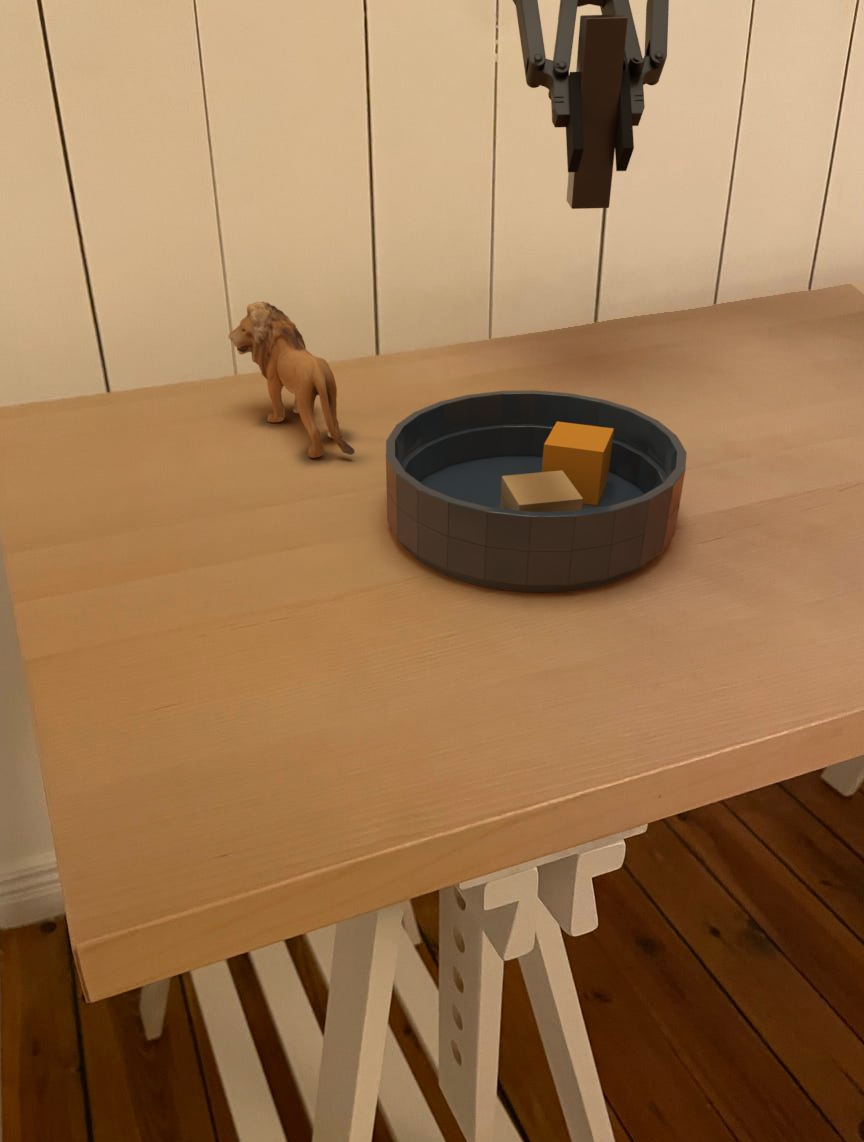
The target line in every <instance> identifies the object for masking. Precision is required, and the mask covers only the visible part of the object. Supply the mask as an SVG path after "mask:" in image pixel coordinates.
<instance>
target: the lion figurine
mask: <svg viewBox="0 0 864 1142" xmlns="http://www.w3.org/2000/svg"><path fill="white" fill-rule="evenodd" d="M239 322H240V324H239V325H238V326H237V327H236V328H234V329H233V330H232V331H230V332H229V334H228V335H227V336H228V339H229V340H230V341H231V343H232V345H233V346H234V347H235V348H236V350H237V353H238V354H239V355H245V354H247V353H250V354H251V360H252V362H253V363H255V364H257V365H258V367H259V370H260V373H261V376H262V377H264V378H265V379H266V384H267V391H268V396H269V398H270V401H271V404H272V409H273V411H272V412H270V413H268V415H267V420H266V421H267V422H269V423H272V424H273V423H280V422H281V423H282V422H283V421H284V420H285V417H286V409H285V406H284V403H283V398H282V396H283V395H282V391H283V388H285V389H286V390H287V391H288V392H289V393H290V394H293V395H294V402H293V405H292V407H293V408H292V412H293V413H294V414H298V415H299V417H300V419H301V421H302V424H303V425H304V428H305V429H306V431H307V433H308V436H309V438H310V441H311V446H310V447H308V450H307V455H308V457H310V458H319V457H321V456H323V455H324V445H323V442H322V435H321V432H320V429H319V427H318V426H317V424H316V421H315V413H314V411H315V410H314V408H315V403H316V398H317V396H319V400H320V406H321V412H322V414H323V417H324V421H325V425H326V427H327V433H326V434H327V436H328V437H329V438H331V439H333V441H334V442H335V443H336V445H337V446H338V448H339V449H340V450H341V452H342V453H343V454H347V455H353V454H355V452H356V451H355V449H354V448H353V447H352V446H351V445H350V444H349V443H347V442H346V441H345V440H344V439H342V435H343V434H342V430H341V428H340V425H339V424H340V423H339V420H338V416H337V415H338V414H337V413H338V412H337V406H338V405H337V397H338V395H337V394H338V388H337V382H336V379H335V376H334V373H333V371H332V369H331V368H330V365H329V363H328V361H326V359H325V358H323V357H318V356H315V355H313V354H312V353H311V352H309V351H308V350H307V347H306V344H305V340H304V337H303V335H302V334H301V333H300V331H299V329H298V328H297V326H296V324H295V322H293V321H292V320H291V319H290V317H289V316H288V315H287V314H286V313H284V312H283V311H282V310H281V309H278V307H276V306H275V305H273V304H270V303H269V302H265V301H255V302H253V303H249V304H248V305H247V306H246V315H245V317H243V318H242V319H241V320H240V321H239Z"/></svg>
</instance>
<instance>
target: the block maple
mask: <svg viewBox="0 0 864 1142" xmlns="http://www.w3.org/2000/svg"><path fill="white" fill-rule="evenodd" d="M582 503H583V498H582V497H581V495H580V494H579V492H578V491H577V490H576V488H575V487H574V486H573V484H572V483H571V481H570V480H569V479H568V477H567V476H566V475H565V473H564V472H563V471H562V470H560V471H550V472H539V473H529V474H518V475H507V476H502V481H501V500H500V509H509V510H518V511H528V512H555V511H579V510H582Z"/></svg>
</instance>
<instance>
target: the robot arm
mask: <svg viewBox="0 0 864 1142" xmlns="http://www.w3.org/2000/svg"><path fill="white" fill-rule="evenodd" d="M512 2H513V4H514V6H515V12H516V18H517V26H518V33H519V39H520V47H521V55H522V61H523V69H524V75H525V76H524V77H525V82H526V85H527V86H528V87H529V88H532V89H537V88H539V87H540V86H541V87H544V88H546V89H547V90H548V93H547V95H548V99H549V100H550V106H551V107H550V108H551V123H552V124H553V126H554V128H565V141H566V142H565V143H566V160H567V161H566V162H567V163H566V165H567V173H569V172H578V169H579V165H580V161H581V158H582V154H583V150H584V145H583V124H582V104H581V88H580V72H576V71H570V67H571V61H572V52H573V45H574V35H575V28H576V21H577V12H578V8H580V7H584V6H587V5H592V6H597V7H600V12H601V15H618V14H620V15H623V16H625V17H628V21H627V31H626V42H625V52H624V62H623V72H622V82H621V91H620V101H619V111H618V121H617V131H616V141H615V153H614V158H615V171H616V172H627V170H628V167H629V163H630V161H631V158H632V154H633V152H634V149H635V142H634V127H638V126H639V125H640V122H641V120H642V116H643V113H644V110H645V92H644V86H645V85H648V86H655V85H657V84H658V83H659V82H660V79H661V76H662V73H663V70H664V68H665V67H664V66H665V64H666V61H667V57H668V40H669V39H668V36H669V34H668V33H669V4H670V1H669V0H646V7H645V31H644V32H645V33H644V55H643V54H642V50H641V46H640V42H639V37H638V32H637V28H636V25H635V21H634V16H633V12H632V8H631V4H630V0H560V1H559V7H558V8H559V9H558V16H557V27H556V35H555V43H554V50H553V57H552V59H550V58H549V59H548V58H546V50H545V42H544V36H543V29H542V22H541V16H540V15H541V14H540V8H539V1H538V0H512Z"/></svg>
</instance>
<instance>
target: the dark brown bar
mask: <svg viewBox="0 0 864 1142" xmlns="http://www.w3.org/2000/svg"><path fill="white" fill-rule="evenodd" d="M627 21H628V17H625V16H623V15H620V14H618V15H602V14H585V15H583V14H582V15H580V18H579V27H578V28H579V30H578V41H577V57H576V68H575V69H576V70H575V72H580V88H581V104H582V124H583V145H584V150H583V154H582V158H581V161H580V165H579V169H578V172H567V175H568V176H567V187H566V202H567V203H568V206H569V207H570V208H571V209H572V210H582V209H587V210H588V209H609V208H610V203H611V193H612V181H613V173H614V172H613V171H614V162H615V141H616V131H617V121H618V111H619V101H620V91H621V82H622V72H623V62H624V52H625V42H626V31H627Z"/></svg>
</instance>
